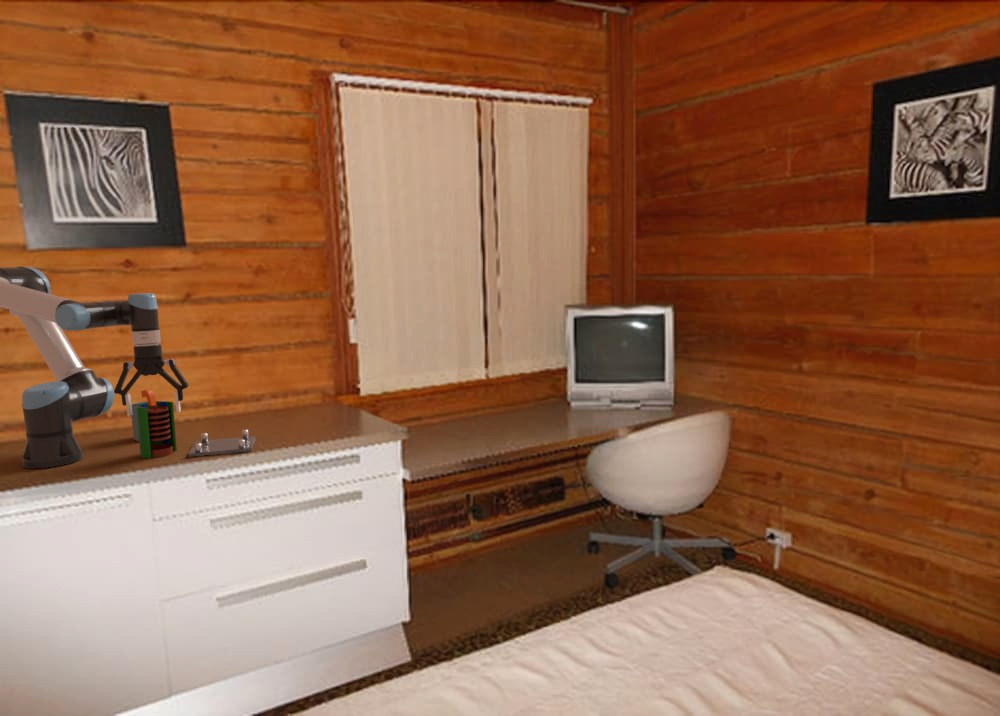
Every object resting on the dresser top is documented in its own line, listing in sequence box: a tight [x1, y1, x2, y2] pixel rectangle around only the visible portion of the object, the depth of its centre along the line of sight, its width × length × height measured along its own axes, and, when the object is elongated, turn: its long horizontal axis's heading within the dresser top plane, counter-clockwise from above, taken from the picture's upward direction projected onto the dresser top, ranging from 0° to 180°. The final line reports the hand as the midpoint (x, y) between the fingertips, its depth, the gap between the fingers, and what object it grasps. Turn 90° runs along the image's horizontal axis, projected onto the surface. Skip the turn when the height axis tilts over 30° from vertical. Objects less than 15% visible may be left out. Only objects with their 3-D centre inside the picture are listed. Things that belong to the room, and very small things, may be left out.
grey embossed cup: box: [130, 400, 148, 442], centre depth 232 cm, size 10×10×12 cm
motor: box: [137, 389, 178, 460], centre depth 210 cm, size 10×9×20 cm
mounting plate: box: [187, 429, 256, 458], centre depth 216 cm, size 18×16×4 cm
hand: (154, 413), depth 210 cm, fingers open, 13 cm apart
